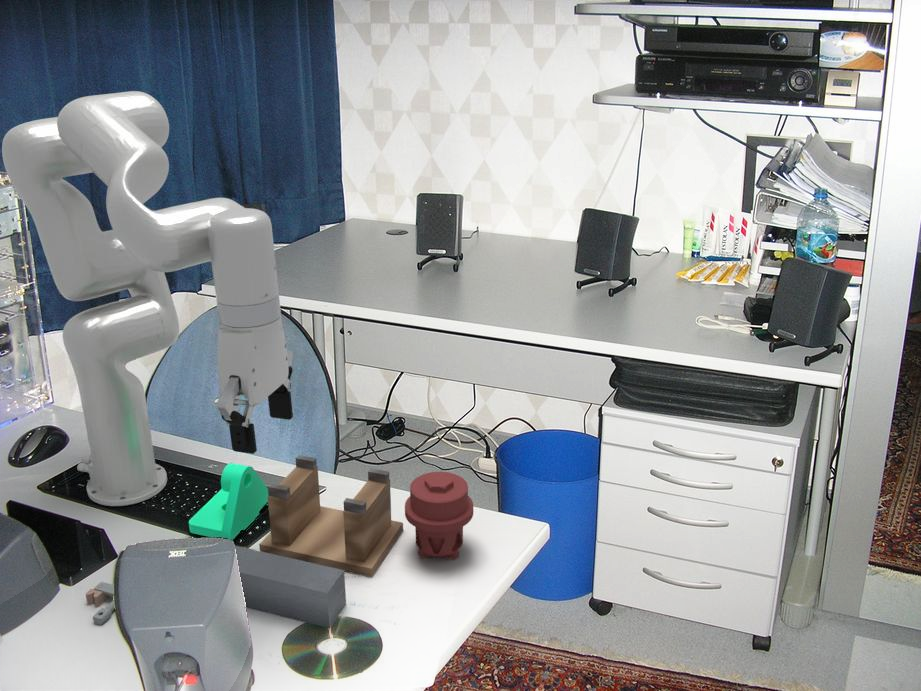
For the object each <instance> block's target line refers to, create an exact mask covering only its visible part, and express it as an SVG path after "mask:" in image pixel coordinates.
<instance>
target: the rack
mask: <svg viewBox="0 0 921 691" xmlns="http://www.w3.org/2000/svg"><path fill="white" fill-rule="evenodd" d="M267 488H268V502H267V504H268V516H269V527H270V532H269V533H268V534H267V535H266V536H265V537H264V538H263V539H262V541H261V542H260V543H259V544H258V545H259V551H261V552H266V553H270V554H275V555H279V556H283V557H288V558H292V559H297V560H301V561H305V562H310V563H314V564H319V565H323V566H327V567H332V568H336V569H341V570H344V572H347V573H350V574H355V575H361V576H363V577H364V576H365V577H369V578H373V576H374V575H375V574H376V573H377V571H378V569H379V567H380V566H381V564H382V563H383V562H384V560H385V559H386V557H387V556H388V554H389V553H390V551H391V550H392V548H393V547H394V545H395V543H396V542H397V541H398V539H399V538H400V536H401V535H402V533H403V532H404V522H402V521H398V520H397V521H396V520H392V500H391V499H392V498H391V494H392V493H391V479H390V471H388V470H382V469H376V468H369V469H368V471H367V481H366V482H365V484H364V485H363V486H362V487H361V489H360V490H359V491H358V492H357V493H356V495H355V496H354V497H353V498H349V497H346V498H345V499H344V500H343V510H341V509H338V508H337V509H336V508H332V507H331V508H330V507H327V506H322V505H321V498H320V497H321V496H320V482H319V467H318V464H317V457H311V456H306V455H301V454H297V456H296V457H295V467H294V468H293V470H291V472H289V473H288V474H287V476H286V477H284V478H283V480H282V481H281V482H280V483H279V484H277V483H272V482H270V484H269V485H268V486H267Z"/></svg>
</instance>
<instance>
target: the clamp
mask: <svg viewBox="0 0 921 691" xmlns="http://www.w3.org/2000/svg"><path fill="white" fill-rule="evenodd" d="M114 585H115V584H113V583H109V582H105V581H100V582H99V583H98V584H96V585H95V587H93V588H90V589H89V590H88V591H86V592H85V599H86V603H87V606H88V605H89V606H90V605H93V604H95V608H98V607H101V605H102V604H104V603H105V602H106V603H109V604H108V605H107V606H105V607H101V608H100V609H99V610H97V611H96V612H95V614H94V615H92V621H93V623H94V624H97V625H103V624H104V623H105V622H106V621H107V620H108V619H109V618H110V617H112V614H113V613H112V612H113V611H114V610H115V609H116V608H114V600H113V596H114Z"/></svg>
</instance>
